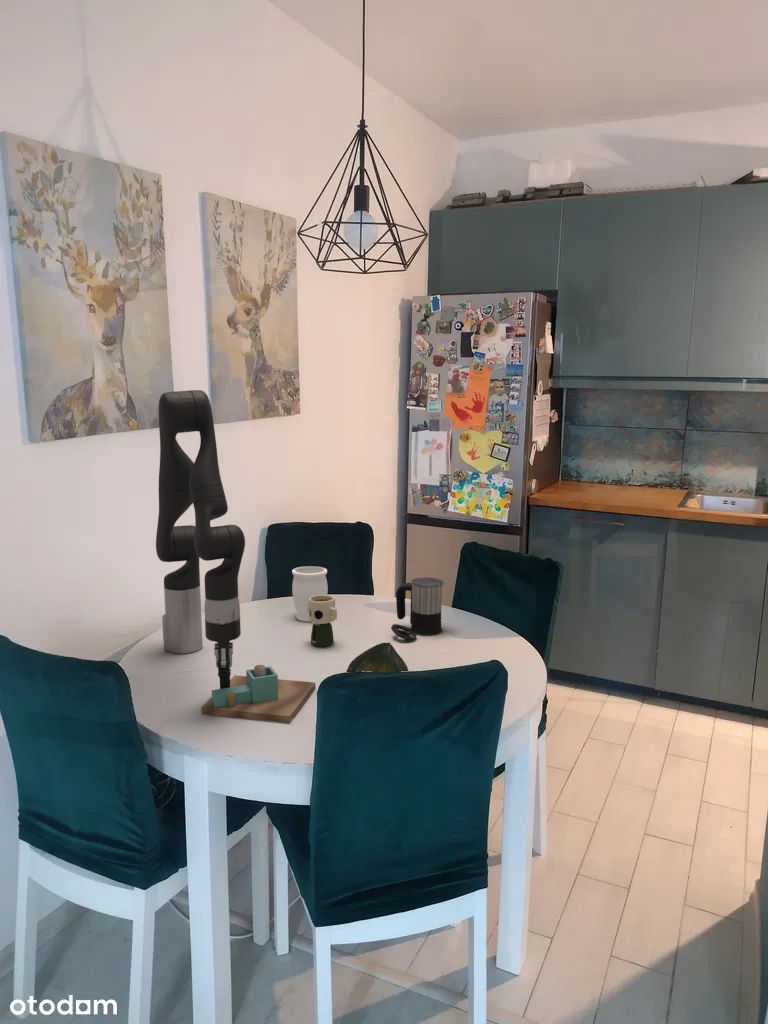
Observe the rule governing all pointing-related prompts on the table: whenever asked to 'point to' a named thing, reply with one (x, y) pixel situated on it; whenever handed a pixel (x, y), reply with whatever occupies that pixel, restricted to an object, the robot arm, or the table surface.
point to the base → (276, 710)
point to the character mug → (322, 618)
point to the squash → (378, 660)
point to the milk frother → (420, 608)
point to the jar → (307, 588)
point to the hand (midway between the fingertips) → (225, 690)
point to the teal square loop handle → (250, 689)
